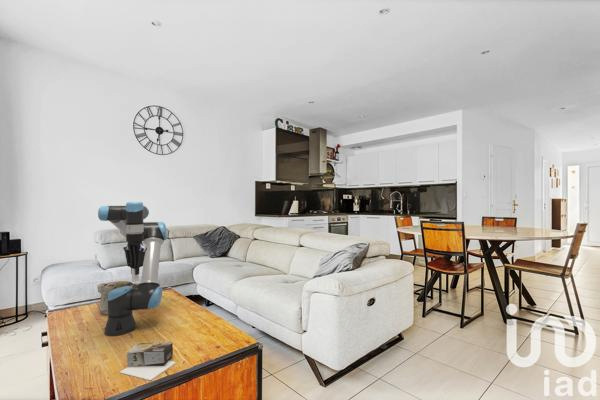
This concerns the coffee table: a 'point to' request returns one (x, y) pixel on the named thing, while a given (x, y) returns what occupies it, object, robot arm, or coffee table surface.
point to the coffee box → (150, 354)
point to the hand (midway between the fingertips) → (135, 281)
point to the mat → (146, 371)
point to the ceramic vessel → (108, 287)
